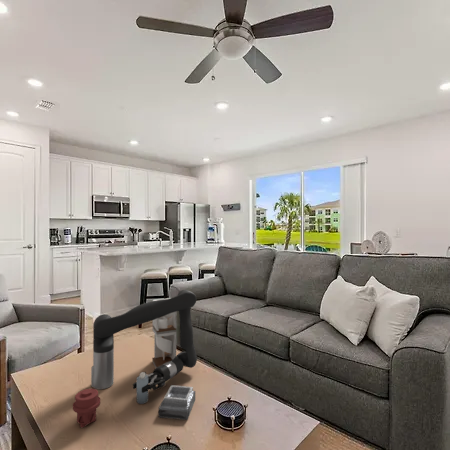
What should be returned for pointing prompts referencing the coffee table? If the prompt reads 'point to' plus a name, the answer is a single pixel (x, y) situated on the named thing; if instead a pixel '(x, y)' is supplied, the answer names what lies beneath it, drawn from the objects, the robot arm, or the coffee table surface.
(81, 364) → the coffee table surface
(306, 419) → the coffee table surface
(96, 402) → the mechanical component
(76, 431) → the coffee table surface
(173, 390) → the square grey open box
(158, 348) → the white shelf unit
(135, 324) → the robot arm
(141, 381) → the pale blue squeeze bottle
